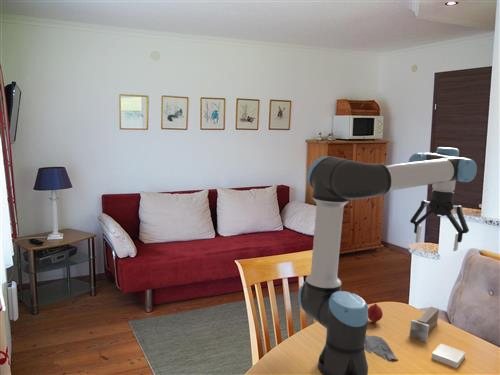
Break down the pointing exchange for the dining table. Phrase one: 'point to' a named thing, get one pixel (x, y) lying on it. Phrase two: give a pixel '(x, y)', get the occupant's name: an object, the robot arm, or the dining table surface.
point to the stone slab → (378, 347)
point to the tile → (448, 355)
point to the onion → (374, 313)
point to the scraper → (424, 324)
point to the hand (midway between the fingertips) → (436, 246)
